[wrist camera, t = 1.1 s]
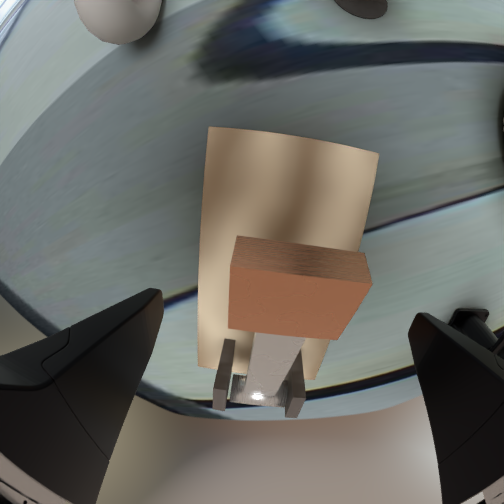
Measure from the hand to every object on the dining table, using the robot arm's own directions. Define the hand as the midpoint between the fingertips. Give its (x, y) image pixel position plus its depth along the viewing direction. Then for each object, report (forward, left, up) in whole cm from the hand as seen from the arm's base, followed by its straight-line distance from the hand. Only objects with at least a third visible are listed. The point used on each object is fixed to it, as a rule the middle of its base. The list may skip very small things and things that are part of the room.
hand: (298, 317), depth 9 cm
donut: (+13, -17, -13) cm, 25 cm away
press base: (0, +5, -13) cm, 14 cm away
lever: (0, +6, -6) cm, 8 cm away
